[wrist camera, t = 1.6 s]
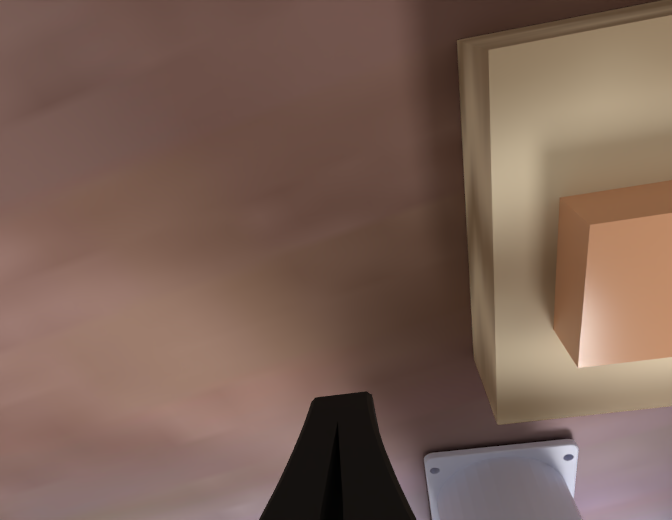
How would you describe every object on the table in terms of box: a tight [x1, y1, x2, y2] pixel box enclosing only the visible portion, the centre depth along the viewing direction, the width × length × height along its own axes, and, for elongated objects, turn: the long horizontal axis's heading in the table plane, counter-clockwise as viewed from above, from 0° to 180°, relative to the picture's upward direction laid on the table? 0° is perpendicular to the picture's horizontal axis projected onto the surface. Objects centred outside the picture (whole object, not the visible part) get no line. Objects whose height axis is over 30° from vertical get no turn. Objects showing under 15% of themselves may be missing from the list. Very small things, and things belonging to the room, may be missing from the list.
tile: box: [553, 180, 672, 368], centre depth 14 cm, size 5×5×2 cm
